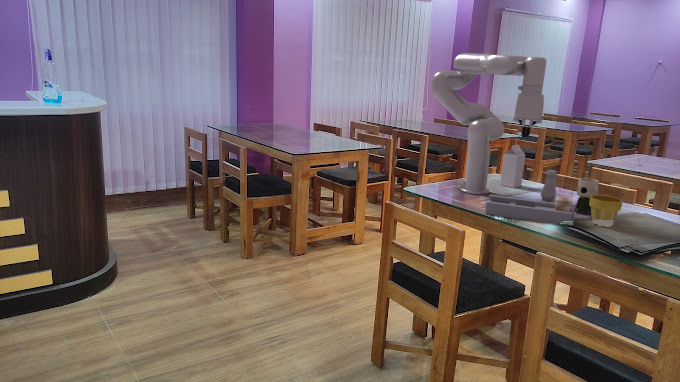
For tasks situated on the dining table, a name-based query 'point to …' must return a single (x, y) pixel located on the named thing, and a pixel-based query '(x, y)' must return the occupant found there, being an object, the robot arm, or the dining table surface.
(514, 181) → the milk carton
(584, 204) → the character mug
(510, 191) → the dining table surface
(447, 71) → the robot arm
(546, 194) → the salt shaker
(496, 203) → the grey tray
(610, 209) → the plant pot
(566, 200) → the maple block
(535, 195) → the dining table surface
